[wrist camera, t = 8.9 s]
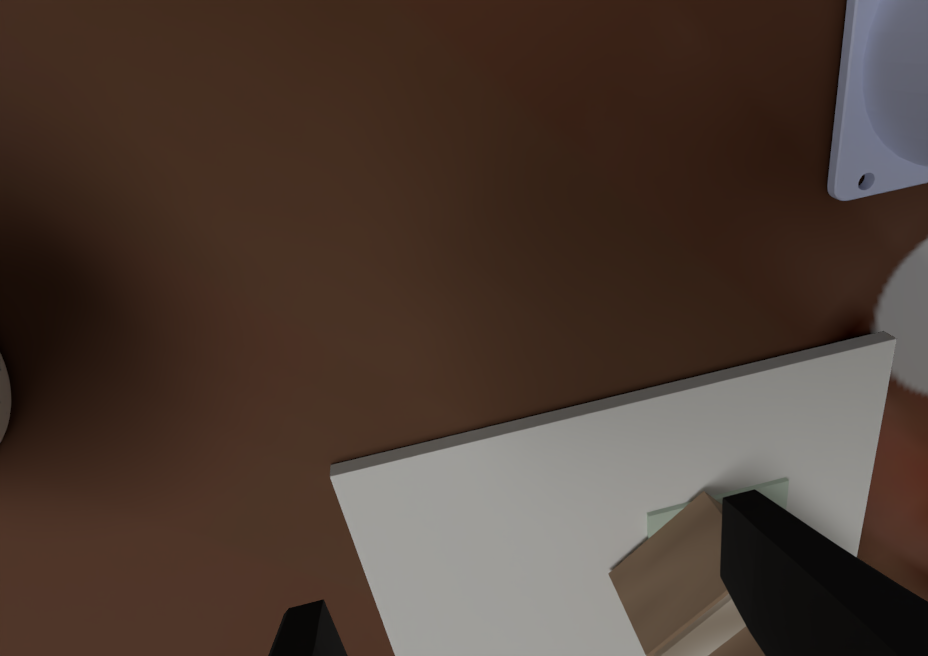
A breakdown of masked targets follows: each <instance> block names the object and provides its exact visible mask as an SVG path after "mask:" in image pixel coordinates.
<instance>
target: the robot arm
mask: <svg viewBox="0 0 928 656" xmlns="http://www.w3.org/2000/svg"><path fill="white" fill-rule="evenodd" d="M864 174H865V178H864V181H863V182H862V183H861V184H860V185H859V186H858V182H859V180H860V178H861V177H862V176H863V175H864ZM924 183H928V0H847V7H846V16H845V25H844V35H843V44H842V53H841V63H840V72H839V81H838V91H837V100H836V109H835V118H834V128H833V137H832V146H831V156H830V165H829V174H828V184H827V189H828V193H829V195H830V196H831V197H833V198H835V199H838V200H841V201H849V200H853V199H858V198H862V197H867V196H871V195H875V194H880V193H884V192H888V191H893V190H897V189H902V188H906V187H910V186H915V185H919V184H924ZM720 577H721V579H722V581H723V583H724V585H725V587H726V589H727V591H728V593H729V595H730V596H731V598H732V600H733V602H734V604H735V606H736V608H737V610H738V612H739V613H740V615H741V617H742V619H743V621H744V623H745V624H746V626H747V628H748V630H749V632H750V633H751V635H752V636H753V638H754V639H755V641H756V642H757V644H758V645H759V647H760V648H761V650H762V651H763V653H764V654H765V656H928V602H927V601H926V600H924V599H922V598H920V597H919V596H917V595H916V594H914V593H912V592H911V591H909V590H907V589H906V588H904V587H902V586H901V585H899V584H898V583H896V582H894V581H893V580H891V579H890V578H888V577H887V576H885V575H883V574H882V573H880V572H879V571H877V570H876V569H874V568H872V567H871V566H869V565H868V564H866V563H865V562H863V561H861V560H860V559H858V558H857V557H855V556H854V555H852V554H851V553H849V552H848V551H846V550H845V549H843V548H841V547H840V546H838V545H837V544H835V543H834V542H832V541H831V540H829V539H828V538H827V537H825V536H824V535H822V534H821V533H819V532H818V531H816V530H815V529H813V528H812V527H810V526H809V525H807V524H806V523H804V522H803V521H801V520H800V519H798V518H797V517H795V516H794V515H793V514H791V513H790V512H788V511H787V510H785V509H784V508H782V507H781V506H779V505H778V504H776V503H775V502H773V501H772V500H770V499H769V498H767V497H766V496H764V495H763V494H761V493H760V492H758V491H757V490H755V489H754V490H750V491H746V492H742V493H738V494H734V495H730V496H726V497H723V500H722V529H721V559H720ZM268 656H347V654H346V651H345V649H344V646H343V644H342V642H341V639H340V637H339V635H338V632H337V630H336V628H335V625H334V623H333V621H332V618H331V616H330V613H329V611H328V609H327V606H326V604H325V602H324V600H320V601H316V602H312V603H308V604H304V605H300V606H296V607H292V608H289V609H288V610H287V611H286V613H285V614H284V616H283V619H282V621H281V624H280V627H279V629H278V632H277V635H276V637H275V640H274V642H273V645H272V648H271V650H270V653H269V655H268Z"/></svg>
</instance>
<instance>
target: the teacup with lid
mask: <svg viewBox="0 0 928 656" xmlns="http://www.w3.org/2000/svg"><path fill="white" fill-rule="evenodd" d="M10 411H11V388H10V381H9V376H8V373H7V369H6V366H5V363H4V361H3V358H2V355H1V353H0V443H1V441H2V439H3V436H4V434H5V432H6V429H7V426H8V422H9V419H10Z"/></svg>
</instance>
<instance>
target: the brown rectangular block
mask: <svg viewBox="0 0 928 656" xmlns="http://www.w3.org/2000/svg"><path fill="white" fill-rule="evenodd" d="M721 529H722V504H721V503H719V502H718V501H717V500H715V499H714V498H713V497H711V496H710V495H709V494H707V493H706V492H705V491H703V492H702V493H701V494H700V495H698V496H697V497H696V498H695V499H694V500H693V501H692V502H690V503H689V504H688V505H687V506H686V507H685V508H683V509H682V510H681V511H680V512H679V513H678V514H677V515H675V516H674V517H673V518H672V519H671V520H670V521H668V522H667V523H666V524H665V525H664V526H663V527H662V528H660V529H659V530H658V531H657V532H656V533H655V534H653V535H652V536H651V537H650V538H649V539H648V540H647V541H645V542H644V543H643V544H642V545H641V546H640V547H638V548H637V549H636V550H635V551H634V552H633V553H632V554H630V555H629V556H628V557H627V558H626V559H625V560H623V561H622V562H621V563H620V564H619V565H618V566H617V567H615V568H614V569H613V570H612V571H611V572H610V573H608V574H609V577H610V579H611V581H612V583H613V585H614V587H615V590H616V592H617V594H618V596H619V598H620V600H621V603H622V605H623V607H624V609H625V611H626V613H627V616H628V618H629V620H630V622H631V624H632V627H633V629H634V631H635V633H636V635H637V637H638V640H639V642H640V644H641V646H642V648H643V650H644V653H645V655H646V656H765V654H764V653H763V651H762V650H761V648H760V647H759V645H758V644H757V642H756V641H755V639H754V638H753V636H752V635H751V633H750V632H749V630H748V628H747V626H746V624H745V623H744V621H743V619H742V617H741V615H740V613H739V612H738V610H737V608H736V606H735V604H734V602H733V600H732V598H731V596H730V595H729V593H728V591H727V589H726V587H725V585H724V583H723V581H722V579H721V577H720V559H721Z"/></svg>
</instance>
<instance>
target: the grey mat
mask: <svg viewBox="0 0 928 656" xmlns="http://www.w3.org/2000/svg"><path fill="white" fill-rule="evenodd" d="M896 340H897V339H896V338H895V337H893V336H891V335H889V334H888V333H886V332H884V331H882V332H878V333H874V334H869V335H865V336H861V337H857V338H853V339H849V340H845V341H841V342H836V343H832V344H828V345H824V346H820V347H816V348H812V349H808V350H803V351H799V352H795V353H791V354H787V355H783V356H779V357H774V358H770V359H766V360H762V361H758V362H754V363H750V364H746V365H741V366H737V367H733V368H729V369H725V370H721V371H717V372H713V373H708V374H704V375H700V376H696V377H692V378H688V379H684V380H680V381H675V382H671V383H667V384H663V385H659V386H655V387H651V388H647V389H642V390H638V391H634V392H630V393H626V394H622V395H618V396H614V397H609V398H605V399H601V400H597V401H593V402H589V403H585V404H581V405H576V406H572V407H568V408H564V409H560V410H556V411H552V412H548V413H543V414H539V415H535V416H531V417H527V418H523V419H519V420H514V421H510V422H506V423H502V424H498V425H494V426H490V427H486V428H481V429H477V430H473V431H469V432H465V433H461V434H457V435H453V436H448V437H444V438H440V439H436V440H432V441H428V442H424V443H420V444H415V445H411V446H407V447H403V448H399V449H395V450H391V451H387V452H382V453H378V454H374V455H370V456H366V457H362V458H358V459H354V460H349V461H345V462H341V463H337V464H333V465H331V468H330V478H331V481H332V484H333V486H334V489H335V492H336V495H337V497H338V500H339V503H340V506H341V508H342V511H343V514H344V517H345V519H346V522H347V525H348V528H349V530H350V533H351V536H352V539H353V541H354V544H355V547H356V550H357V552H358V555H359V558H360V561H361V563H362V566H363V569H364V572H365V574H366V577H367V580H368V583H369V585H370V588H371V591H372V594H373V596H374V599H375V602H376V604H377V607H378V610H379V613H380V615H381V618H382V621H383V624H384V626H385V629H386V632H387V635H388V637H389V640H390V643H391V646H392V648H393V651H394V654H395V656H646V655H645V653H644V650H643V648H642V646H641V644H640V642H639V640H638V637H637V635H636V633H635V631H634V629H633V627H632V624H631V622H630V620H629V618H628V616H627V613H626V611H625V609H624V607H623V605H622V603H621V600H620V598H619V596H618V594H617V592H616V590H615V587H614V585H613V583H612V581H611V579H610V577H609V574H608V573H610V572H611V571H612V570H613V569H614V568H615V567H617V566H618V565H619V564H620V563H621V562H622V561H623V560H625V559H626V558H627V557H628V556H629V555H630V554H632V553H633V552H634V551H635V550H636V549H637V548H638V547H640V546H641V545H642V544H643V543H644V542H645V541H647V540H648V539H649V538H650V537H651V536H652V535H653V534H655V533H656V532H657V531H658V530H659V529H660V528H662V527H663V526H664V525H665V524H666V523H667V522H668V521H670V520H671V519H672V518H673V517H674V516H675V515H677V514H678V513H679V512H680V511H681V510H682V509H683V508H685V507H686V506H687V505H688V504H689V503H690V502H692V501H693V500H694V499H695V498H696V497H697V496H698V495H700V494H701V493H702V492H703V491H705V492H706V493H707V494H709V495H710V496H711V497H713V498H714V499H715V500H717V501H718V502H719V503H721V504H722V500H723V497H726V496H730V495H734V494H738V493H742V492H746V491H750V490H754V489H755V490H757V491H758V492H760V493H761V494H763V495H764V496H766V497H767V498H769V499H770V500H772V501H773V502H775V503H776V504H778V505H779V506H781V507H782V508H784V509H785V510H787V511H788V512H790V513H791V514H793V515H794V516H795V517H797V518H798V519H800V520H801V521H803V522H804V523H806V524H807V525H809V526H810V527H812V528H813V529H815V530H816V531H818V532H819V533H821V534H822V535H824V536H825V537H827V538H828V539H829V540H831V541H832V542H834V543H835V544H837V545H838V546H840V547H841V548H843V549H845V550H846V551H848V552H849V553H851V554H852V555H854V556H855V557H857V553H858V547H859V542H860V536H861V531H862V525H863V520H864V515H865V509H866V504H867V498H868V493H869V487H870V482H871V476H872V471H873V466H874V460H875V455H876V449H877V444H878V438H879V433H880V427H881V422H882V417H883V411H884V406H885V400H886V395H887V389H888V384H889V379H890V373H891V368H892V361H893V356H894V351H895V346H896Z"/></svg>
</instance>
